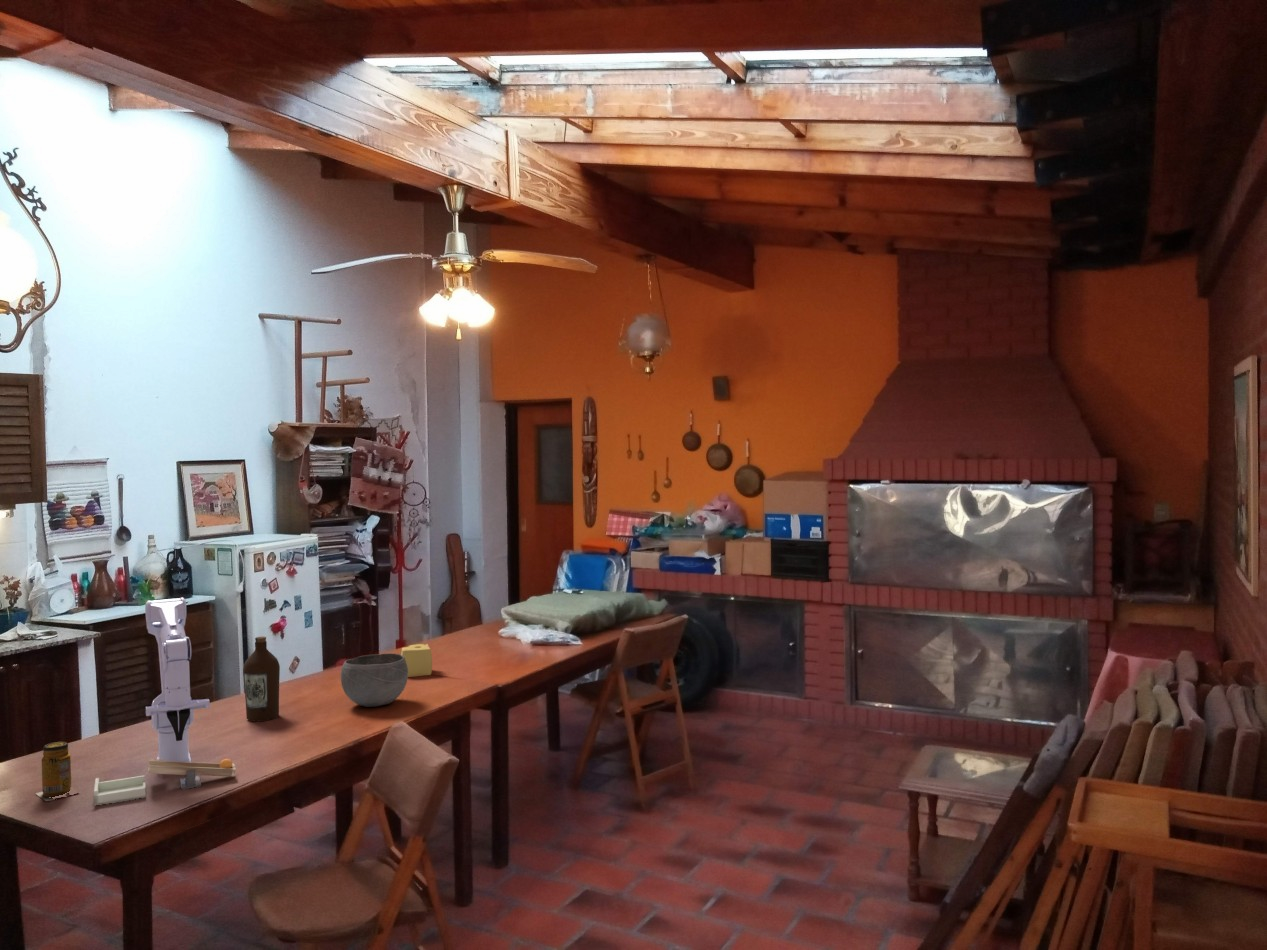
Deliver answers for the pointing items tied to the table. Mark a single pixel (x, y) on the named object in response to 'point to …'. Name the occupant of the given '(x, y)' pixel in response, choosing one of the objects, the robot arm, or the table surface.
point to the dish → (119, 790)
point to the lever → (188, 768)
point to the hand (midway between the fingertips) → (179, 739)
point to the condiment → (55, 770)
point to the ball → (226, 763)
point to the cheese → (418, 659)
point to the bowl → (374, 678)
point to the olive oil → (261, 683)
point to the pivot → (190, 780)
